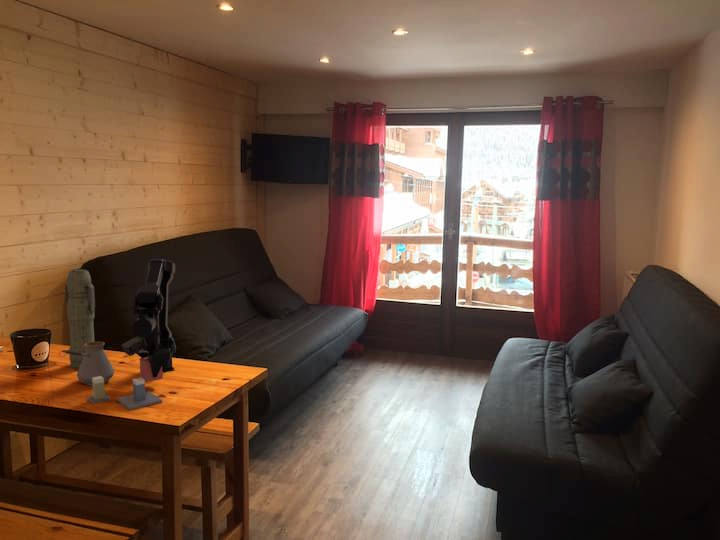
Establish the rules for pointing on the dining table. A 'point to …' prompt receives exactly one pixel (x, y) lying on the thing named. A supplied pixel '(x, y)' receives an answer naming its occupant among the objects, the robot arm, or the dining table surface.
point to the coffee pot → (93, 363)
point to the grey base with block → (98, 391)
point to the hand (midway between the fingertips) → (151, 375)
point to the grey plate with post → (139, 396)
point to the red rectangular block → (148, 371)
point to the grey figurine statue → (80, 312)
